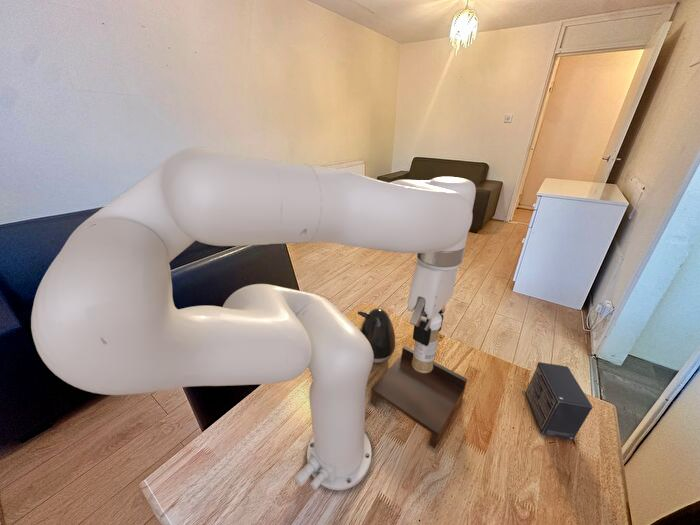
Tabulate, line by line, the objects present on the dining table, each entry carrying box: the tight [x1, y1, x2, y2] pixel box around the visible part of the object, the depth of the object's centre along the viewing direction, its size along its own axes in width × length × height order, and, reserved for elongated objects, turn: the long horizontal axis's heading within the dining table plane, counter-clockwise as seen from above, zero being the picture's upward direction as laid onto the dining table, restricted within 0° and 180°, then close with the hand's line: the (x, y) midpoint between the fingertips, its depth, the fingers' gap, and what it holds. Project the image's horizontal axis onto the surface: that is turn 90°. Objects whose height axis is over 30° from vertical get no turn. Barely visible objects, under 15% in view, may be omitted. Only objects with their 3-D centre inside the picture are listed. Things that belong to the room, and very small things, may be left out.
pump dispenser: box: [357, 308, 396, 364], centre depth 76 cm, size 10×10×15 cm
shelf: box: [370, 345, 468, 450], centre depth 64 cm, size 14×16×8 cm
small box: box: [524, 361, 594, 441], centre depth 61 cm, size 11×6×10 cm, turn 168°
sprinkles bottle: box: [412, 310, 443, 373], centre depth 58 cm, size 5×5×13 cm
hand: (427, 334), depth 57 cm, fingers closed on sprinkles bottle, 4 cm apart
